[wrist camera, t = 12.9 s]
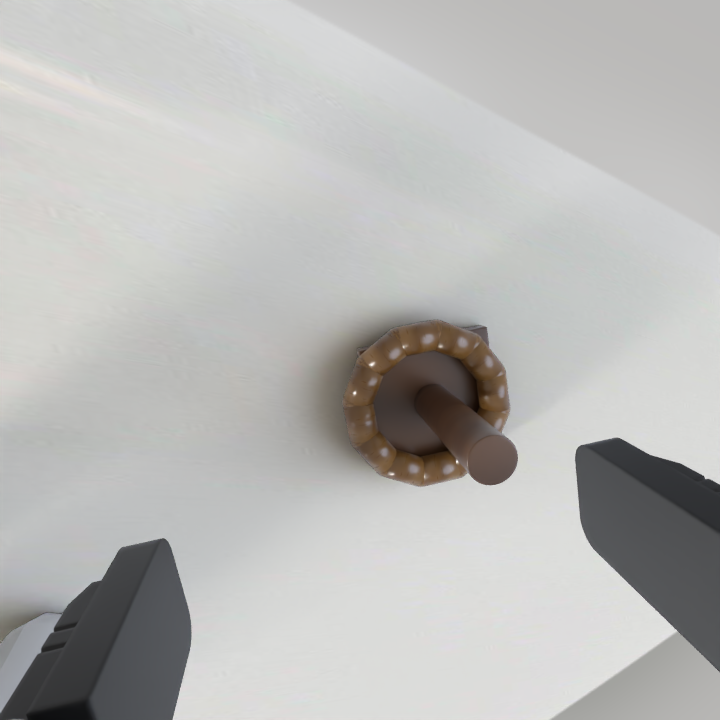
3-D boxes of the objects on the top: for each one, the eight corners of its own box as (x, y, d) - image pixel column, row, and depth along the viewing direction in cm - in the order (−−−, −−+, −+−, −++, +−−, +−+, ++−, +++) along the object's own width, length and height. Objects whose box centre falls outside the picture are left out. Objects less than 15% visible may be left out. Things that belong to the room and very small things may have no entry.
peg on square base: (356, 348, 36) (389, 390, 24) (480, 324, 37) (572, 354, 25) (376, 468, 38) (416, 563, 26) (495, 443, 39) (586, 524, 27)
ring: (329, 338, 34) (331, 342, 32) (490, 306, 35) (502, 308, 33) (359, 492, 37) (363, 505, 35) (510, 458, 38) (522, 469, 36)
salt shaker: (112, 615, 37) (19, 798, 24) (84, 682, 38) (-21, 894, 25) (28, 590, 36) (-116, 768, 23) (0, 660, 37) (-154, 870, 24)
